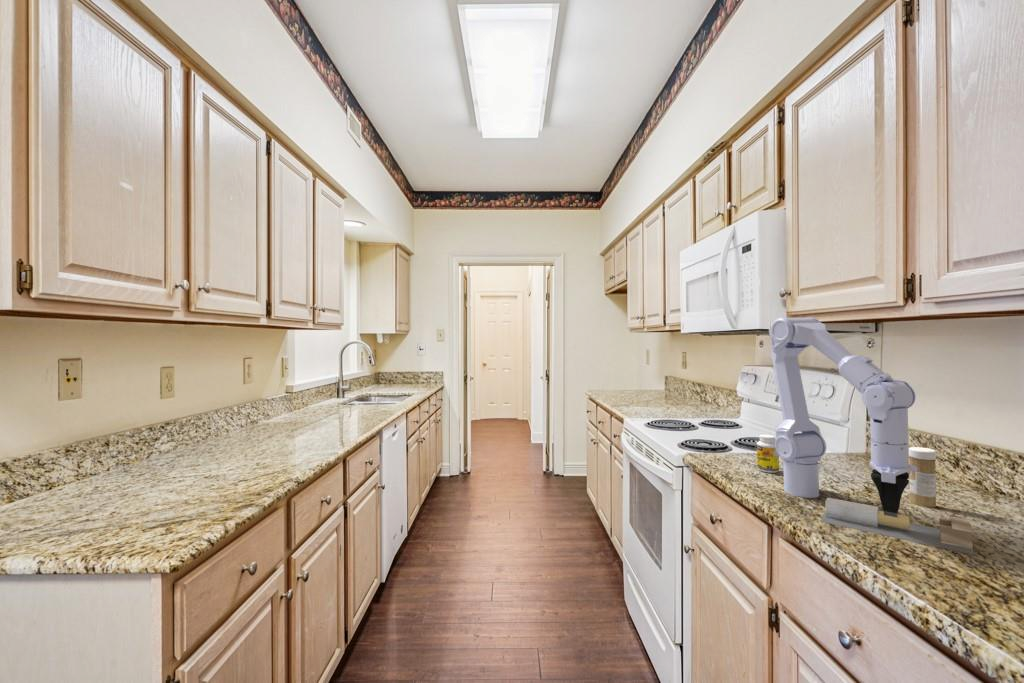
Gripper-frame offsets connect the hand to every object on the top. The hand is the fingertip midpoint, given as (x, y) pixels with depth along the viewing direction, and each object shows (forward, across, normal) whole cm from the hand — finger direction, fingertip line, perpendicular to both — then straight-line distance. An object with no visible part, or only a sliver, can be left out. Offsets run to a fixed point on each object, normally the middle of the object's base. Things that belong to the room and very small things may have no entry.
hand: (890, 509), depth 87 cm
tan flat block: (+4, 0, +4) cm, 5 cm away
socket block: (+4, 0, -9) cm, 10 cm away
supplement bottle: (+5, +30, +28) cm, 41 cm away
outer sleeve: (+4, 0, +6) cm, 7 cm away
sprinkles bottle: (+5, +20, -5) cm, 21 cm away
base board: (+5, 0, 0) cm, 5 cm away
